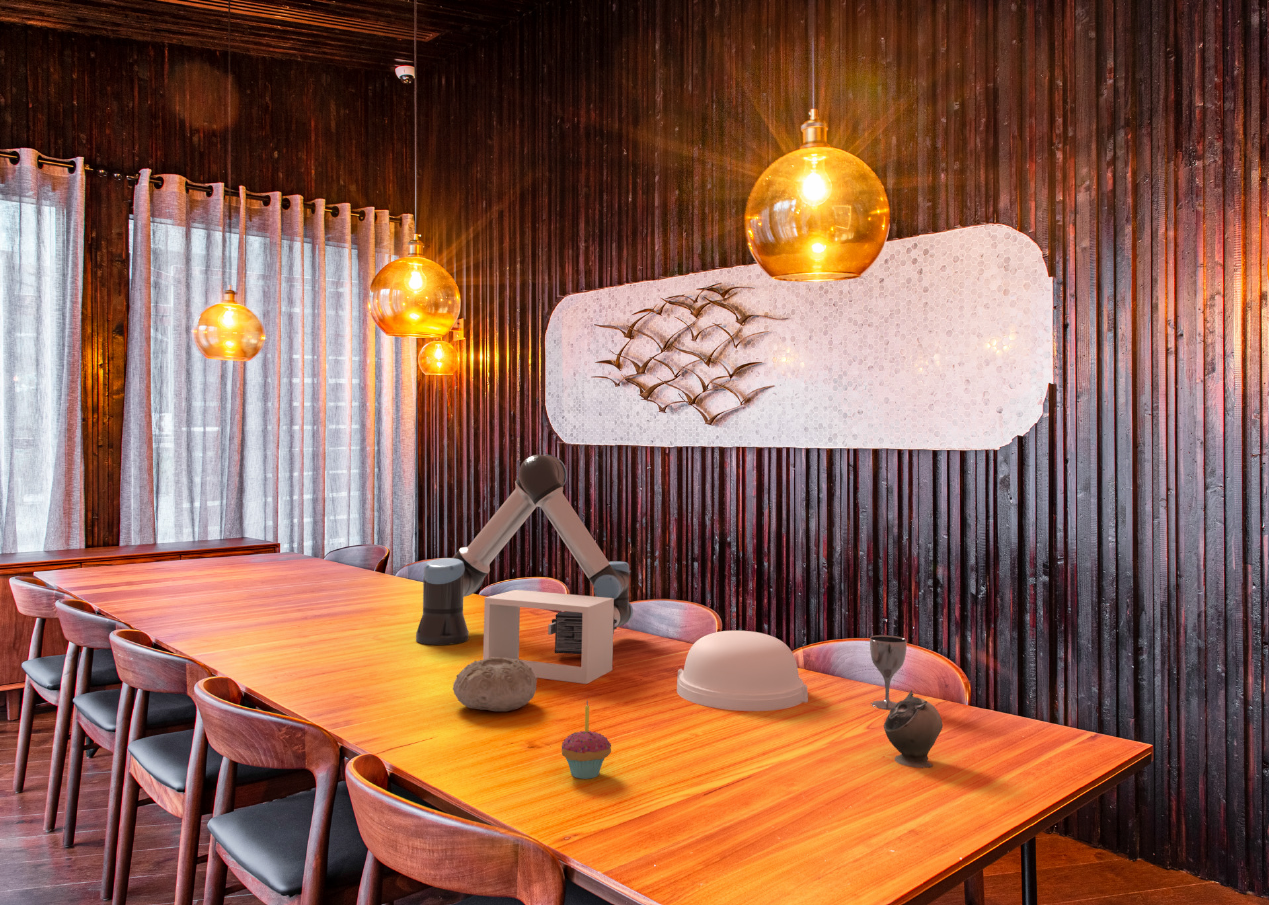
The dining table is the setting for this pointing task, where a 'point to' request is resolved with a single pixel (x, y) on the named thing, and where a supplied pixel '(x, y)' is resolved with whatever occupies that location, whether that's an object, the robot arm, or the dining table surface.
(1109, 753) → the dining table surface
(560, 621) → the small box
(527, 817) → the dining table surface
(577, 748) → the cupcake
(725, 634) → the dome cover
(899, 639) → the wine glass
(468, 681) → the decorative shell
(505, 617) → the cubby
